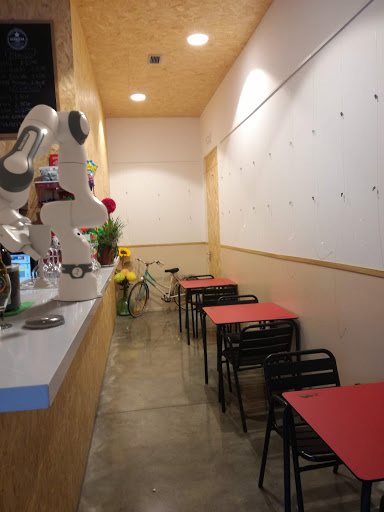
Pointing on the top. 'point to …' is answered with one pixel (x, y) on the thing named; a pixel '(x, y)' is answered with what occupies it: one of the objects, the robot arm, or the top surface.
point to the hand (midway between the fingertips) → (43, 257)
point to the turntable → (44, 321)
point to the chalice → (40, 249)
